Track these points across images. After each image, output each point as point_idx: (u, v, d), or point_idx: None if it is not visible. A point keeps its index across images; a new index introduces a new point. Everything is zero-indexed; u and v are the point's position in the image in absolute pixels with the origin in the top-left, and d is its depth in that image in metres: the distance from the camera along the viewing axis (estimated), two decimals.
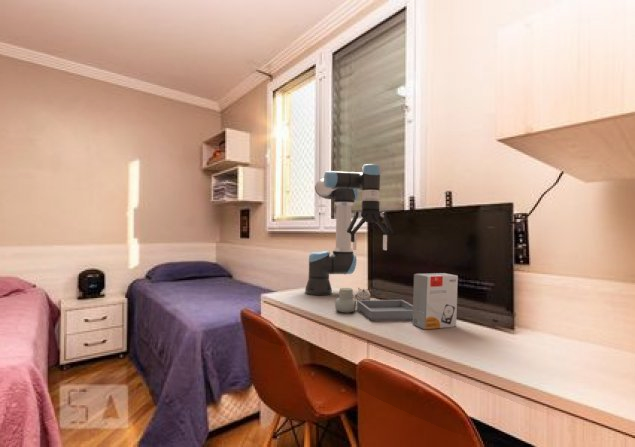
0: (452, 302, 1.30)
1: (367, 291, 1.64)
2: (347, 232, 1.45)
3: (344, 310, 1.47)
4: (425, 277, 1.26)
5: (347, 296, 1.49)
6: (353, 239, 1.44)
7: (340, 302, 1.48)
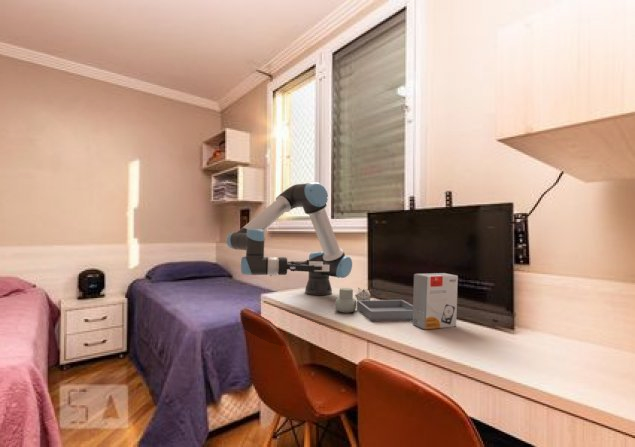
0: (452, 302, 1.30)
1: (367, 291, 1.64)
2: None
3: (344, 310, 1.47)
4: (425, 277, 1.26)
5: (347, 296, 1.49)
6: None
7: (340, 302, 1.48)
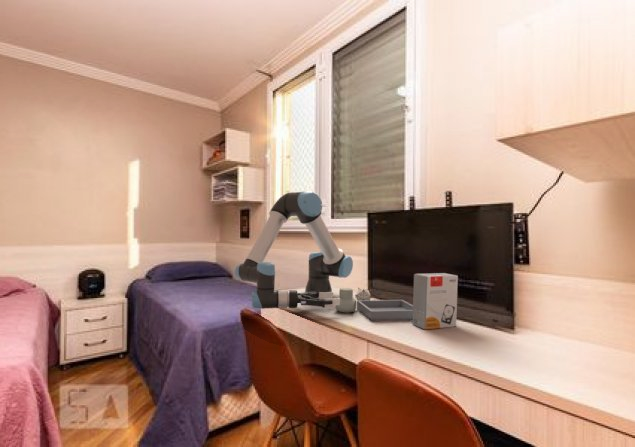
0: (452, 302, 1.30)
1: (367, 291, 1.64)
2: (316, 292, 1.59)
3: (344, 310, 1.47)
4: (425, 277, 1.26)
5: (347, 296, 1.49)
6: None
7: (340, 302, 1.48)
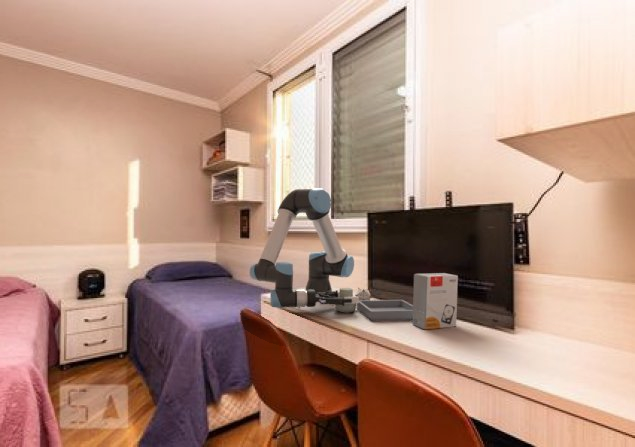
0: (452, 302, 1.30)
1: (367, 291, 1.64)
2: None
3: (344, 310, 1.47)
4: (425, 277, 1.26)
5: (347, 296, 1.49)
6: None
7: None
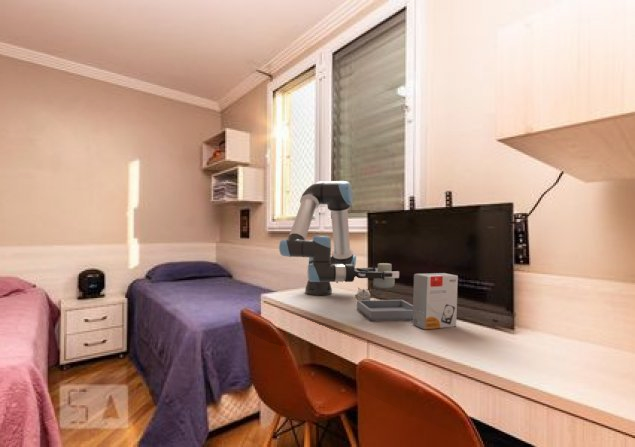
0: (452, 302, 1.30)
1: (367, 291, 1.64)
2: None
3: (384, 285, 1.42)
4: (425, 277, 1.26)
5: None
6: None
7: None
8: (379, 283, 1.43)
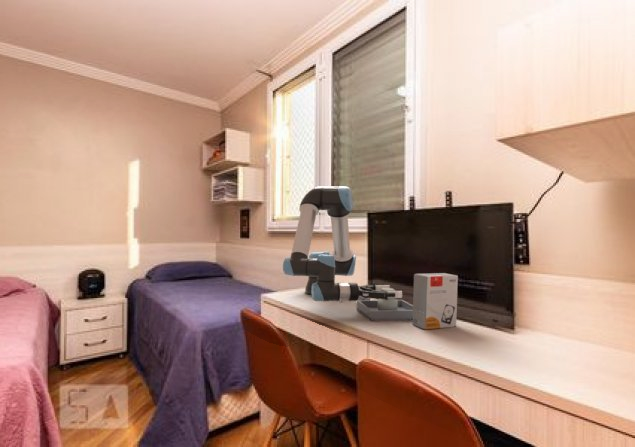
0: (452, 302, 1.30)
1: None
2: (371, 286, 1.57)
3: None
4: (425, 277, 1.26)
5: None
6: None
7: (382, 302, 1.44)
8: (383, 309, 1.43)
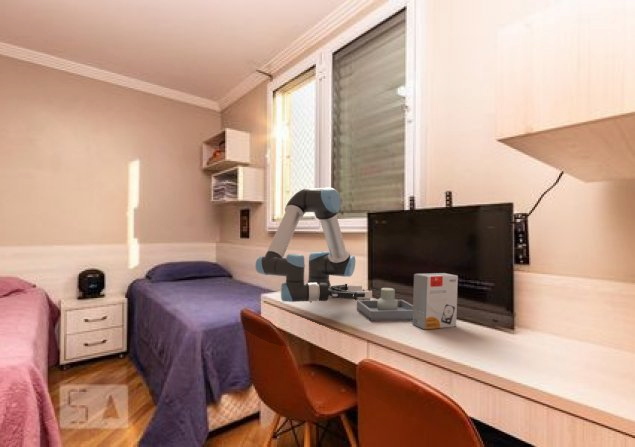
0: (452, 302, 1.30)
1: None
2: (344, 286, 1.55)
3: None
4: (425, 277, 1.26)
5: (390, 297, 1.45)
6: None
7: (382, 302, 1.44)
8: (383, 309, 1.43)
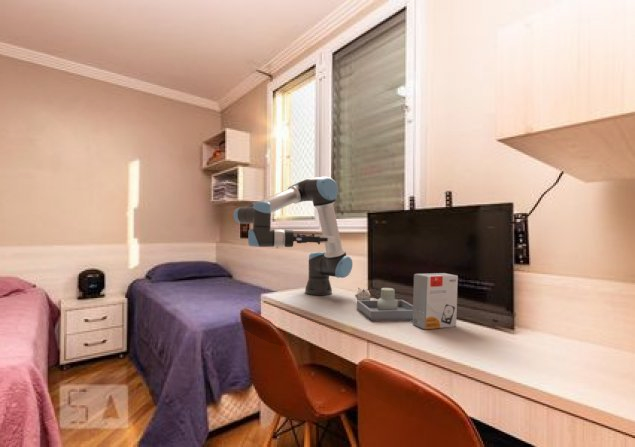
0: (452, 302, 1.30)
1: (367, 291, 1.64)
2: (311, 236, 1.61)
3: None
4: (425, 277, 1.26)
5: (390, 297, 1.45)
6: None
7: (382, 302, 1.44)
8: (383, 309, 1.43)
